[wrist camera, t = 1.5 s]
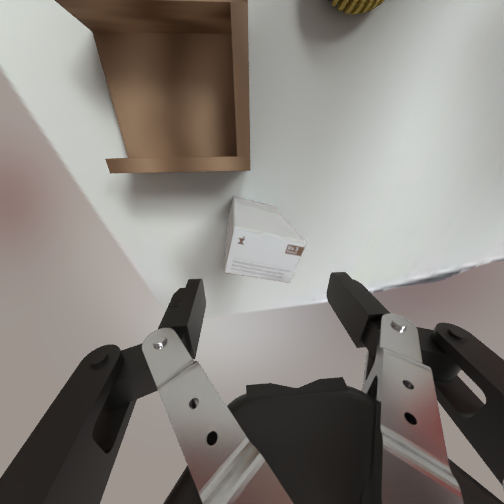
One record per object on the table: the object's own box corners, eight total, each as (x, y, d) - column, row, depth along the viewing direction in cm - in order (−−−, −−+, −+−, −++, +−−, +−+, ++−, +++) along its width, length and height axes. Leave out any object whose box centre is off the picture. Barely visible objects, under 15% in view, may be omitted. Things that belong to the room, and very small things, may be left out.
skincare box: (226, 226, 26) (218, 276, 15) (233, 193, 24) (229, 225, 13) (269, 235, 27) (289, 288, 16) (278, 204, 25) (309, 242, 14)
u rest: (244, 22, 17) (247, -25, 13) (247, 167, 23) (250, 170, 18) (96, 20, 17) (41, -31, 12) (136, 169, 22) (110, 173, 18)
